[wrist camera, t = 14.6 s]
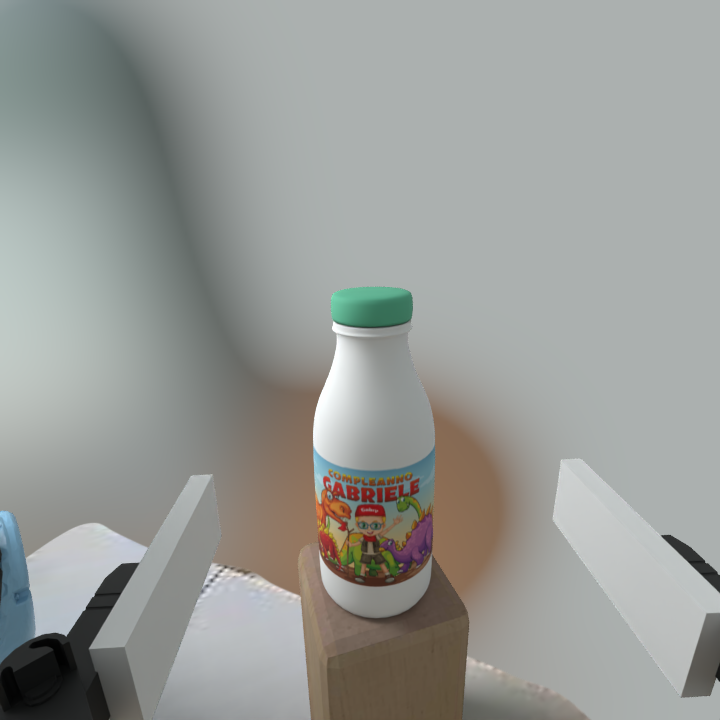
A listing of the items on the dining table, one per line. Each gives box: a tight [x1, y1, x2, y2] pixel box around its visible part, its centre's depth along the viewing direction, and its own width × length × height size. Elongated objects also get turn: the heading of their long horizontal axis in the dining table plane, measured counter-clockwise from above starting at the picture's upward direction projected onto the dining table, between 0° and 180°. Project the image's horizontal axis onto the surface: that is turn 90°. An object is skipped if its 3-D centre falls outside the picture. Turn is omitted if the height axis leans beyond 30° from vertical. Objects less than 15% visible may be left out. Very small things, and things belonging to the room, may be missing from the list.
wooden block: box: [298, 542, 469, 720], centre depth 33 cm, size 10×10×20 cm
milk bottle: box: [313, 287, 435, 618], centre depth 27 cm, size 8×8×20 cm
